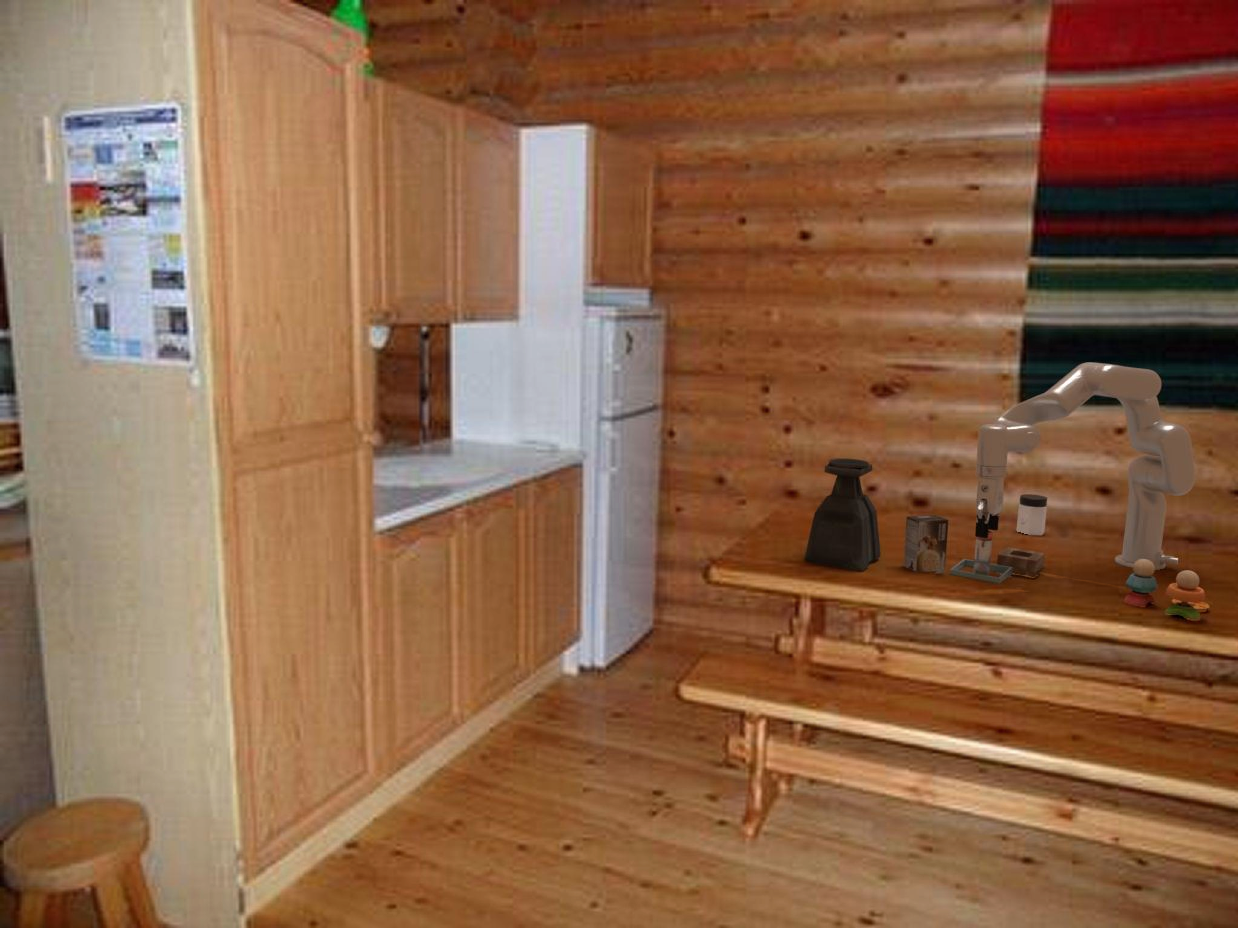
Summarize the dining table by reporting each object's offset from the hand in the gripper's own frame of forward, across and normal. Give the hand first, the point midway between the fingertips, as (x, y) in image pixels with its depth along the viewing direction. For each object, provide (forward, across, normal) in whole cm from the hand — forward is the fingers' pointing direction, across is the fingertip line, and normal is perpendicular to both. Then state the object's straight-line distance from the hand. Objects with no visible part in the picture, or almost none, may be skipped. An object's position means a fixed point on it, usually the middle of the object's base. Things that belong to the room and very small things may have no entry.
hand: (986, 533), depth 254 cm
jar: (+14, +61, +2) cm, 63 cm away
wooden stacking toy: (+13, 0, -43) cm, 45 cm away
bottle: (+12, -17, +34) cm, 39 cm away
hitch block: (+13, +12, -6) cm, 19 cm away
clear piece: (+12, 0, +1) cm, 12 cm away
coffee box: (+12, -9, +14) cm, 20 cm away
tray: (+12, -1, +1) cm, 12 cm away
